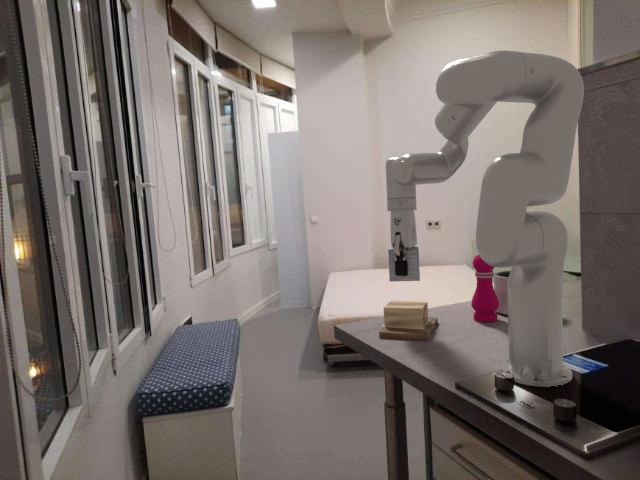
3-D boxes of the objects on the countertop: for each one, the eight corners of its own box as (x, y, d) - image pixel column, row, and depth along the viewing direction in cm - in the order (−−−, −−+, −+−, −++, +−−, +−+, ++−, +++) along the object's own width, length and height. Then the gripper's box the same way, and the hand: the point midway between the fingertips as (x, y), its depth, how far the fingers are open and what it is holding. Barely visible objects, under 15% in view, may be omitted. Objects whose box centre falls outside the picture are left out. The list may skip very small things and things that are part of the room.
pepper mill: (492, 324, 126) (491, 250, 124) (467, 320, 131) (465, 249, 129) (503, 318, 132) (502, 246, 130) (478, 315, 136) (476, 246, 134)
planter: (488, 307, 144) (487, 271, 143) (530, 306, 143) (530, 269, 142) (502, 318, 131) (501, 279, 130) (549, 316, 131) (548, 276, 130)
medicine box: (419, 278, 127) (418, 246, 126) (420, 281, 123) (418, 248, 122) (390, 278, 129) (388, 247, 128) (389, 282, 124) (387, 249, 124)
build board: (426, 340, 116) (426, 334, 116) (377, 337, 121) (377, 331, 121) (437, 323, 131) (437, 317, 130) (393, 320, 136) (393, 315, 135)
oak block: (422, 328, 121) (421, 309, 121) (384, 325, 125) (383, 307, 125) (428, 319, 129) (427, 301, 128) (392, 318, 133) (391, 300, 132)
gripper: (408, 206, 115) (411, 280, 116) (422, 202, 130) (424, 268, 132) (378, 207, 118) (381, 279, 119) (395, 204, 133) (398, 267, 135)
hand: (404, 272), depth 126 cm, fingers closed on medicine box, 5 cm apart
